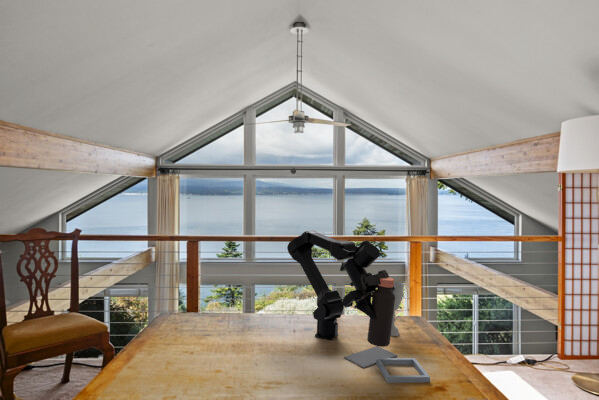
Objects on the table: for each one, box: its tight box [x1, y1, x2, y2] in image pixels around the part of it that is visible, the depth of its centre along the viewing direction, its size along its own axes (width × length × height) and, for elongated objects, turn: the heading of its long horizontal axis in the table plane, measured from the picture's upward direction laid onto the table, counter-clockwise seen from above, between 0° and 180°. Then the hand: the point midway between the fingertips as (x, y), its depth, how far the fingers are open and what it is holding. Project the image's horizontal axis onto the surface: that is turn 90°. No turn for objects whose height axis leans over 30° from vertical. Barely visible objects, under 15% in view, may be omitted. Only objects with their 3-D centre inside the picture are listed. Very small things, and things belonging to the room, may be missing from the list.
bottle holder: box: [375, 357, 431, 384], centre depth 122 cm, size 12×12×2 cm
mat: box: [343, 346, 398, 369], centre depth 131 cm, size 8×15×1 cm, turn 127°
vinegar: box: [366, 276, 395, 348], centre depth 129 cm, size 7×7×20 cm
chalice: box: [391, 281, 405, 337], centre depth 152 cm, size 7×7×18 cm
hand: (382, 319), depth 127 cm, fingers closed on vinegar, 4 cm apart
